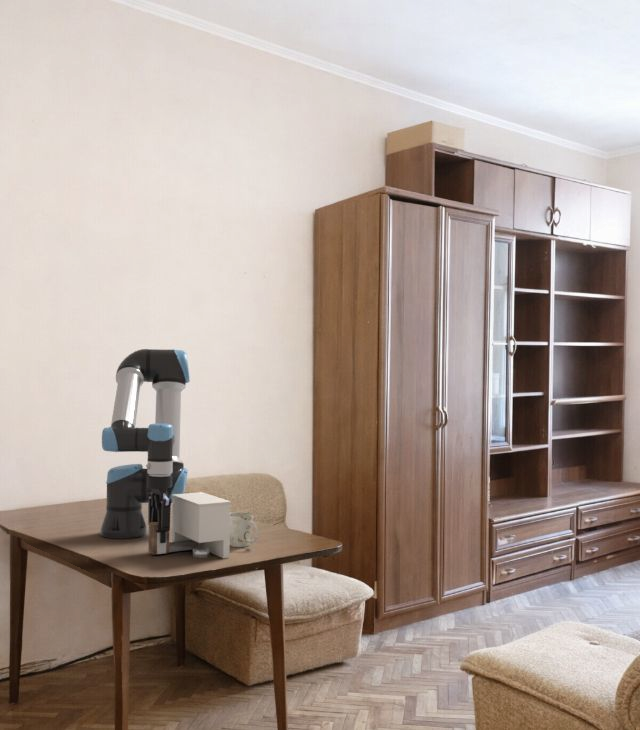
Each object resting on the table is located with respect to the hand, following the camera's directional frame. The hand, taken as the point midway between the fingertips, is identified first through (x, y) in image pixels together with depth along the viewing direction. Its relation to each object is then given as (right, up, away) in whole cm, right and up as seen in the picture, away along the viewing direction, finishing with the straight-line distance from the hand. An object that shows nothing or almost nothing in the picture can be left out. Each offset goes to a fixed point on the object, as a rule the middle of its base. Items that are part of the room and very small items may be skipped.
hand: (158, 551), depth 238 cm
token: (+13, -1, -2) cm, 13 cm away
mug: (+25, -1, +12) cm, 28 cm away
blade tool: (+4, 0, +3) cm, 5 cm away
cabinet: (+12, -1, +3) cm, 13 cm away
